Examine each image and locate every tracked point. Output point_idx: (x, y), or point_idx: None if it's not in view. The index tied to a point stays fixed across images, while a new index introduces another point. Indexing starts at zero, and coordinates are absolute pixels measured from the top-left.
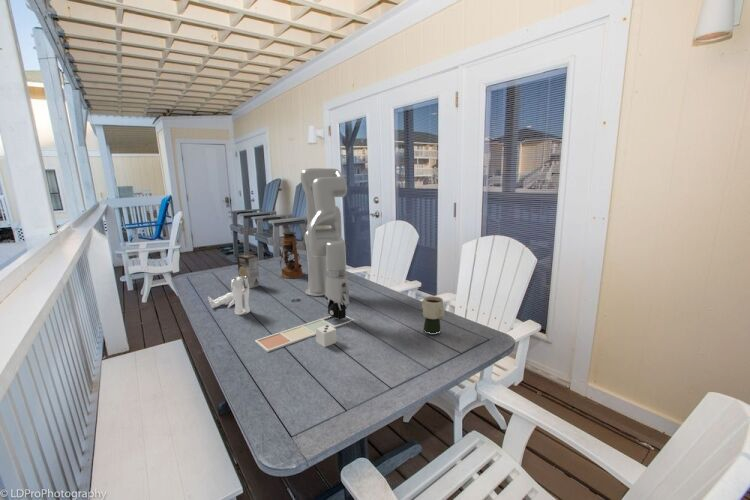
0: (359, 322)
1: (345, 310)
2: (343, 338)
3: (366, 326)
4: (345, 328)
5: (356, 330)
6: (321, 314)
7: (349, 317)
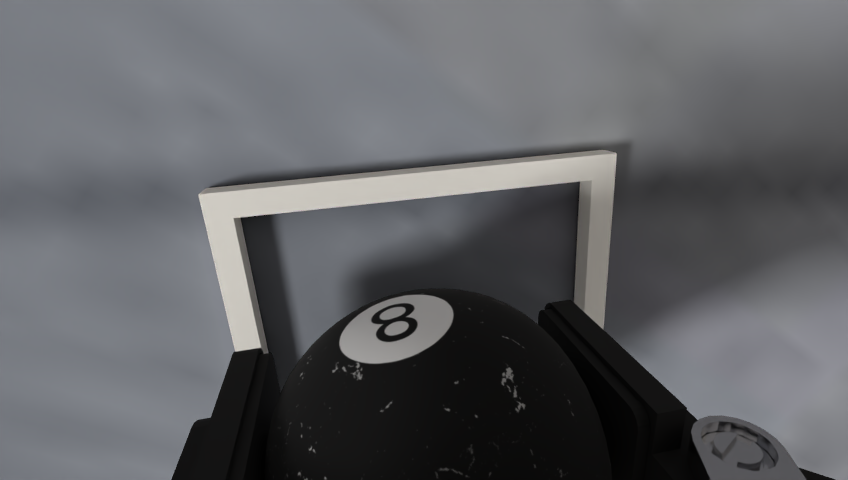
0: (687, 110)
1: (646, 372)
2: (804, 459)
3: (840, 111)
4: (674, 355)
5: (803, 280)
6: (58, 432)
7: (495, 167)
